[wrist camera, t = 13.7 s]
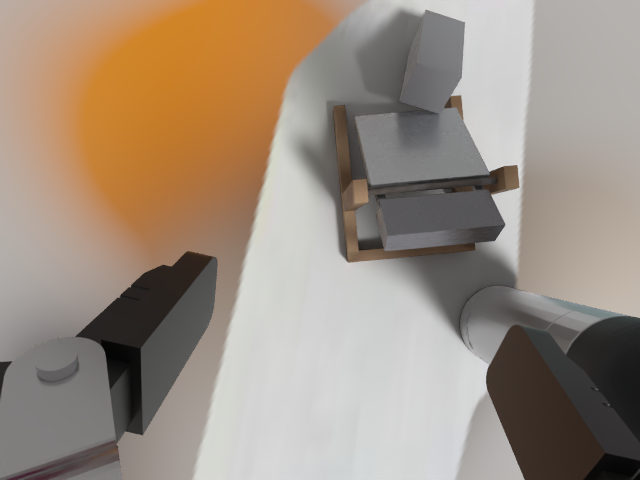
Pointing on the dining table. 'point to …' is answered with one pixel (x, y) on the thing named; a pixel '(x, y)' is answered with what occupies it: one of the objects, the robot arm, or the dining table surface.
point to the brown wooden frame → (357, 192)
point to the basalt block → (434, 62)
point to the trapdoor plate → (426, 179)
